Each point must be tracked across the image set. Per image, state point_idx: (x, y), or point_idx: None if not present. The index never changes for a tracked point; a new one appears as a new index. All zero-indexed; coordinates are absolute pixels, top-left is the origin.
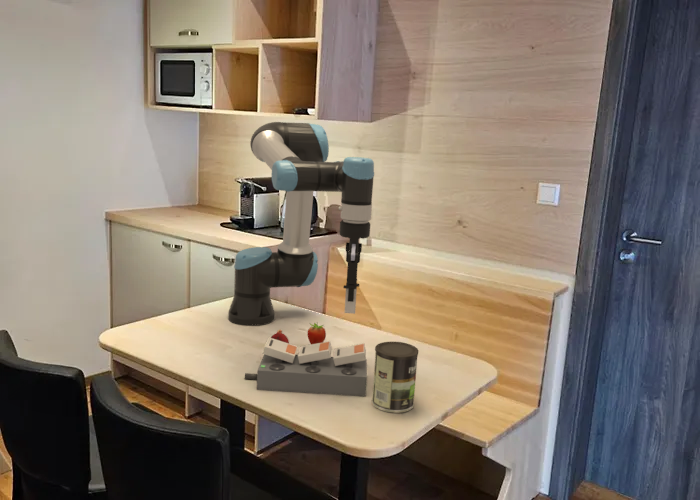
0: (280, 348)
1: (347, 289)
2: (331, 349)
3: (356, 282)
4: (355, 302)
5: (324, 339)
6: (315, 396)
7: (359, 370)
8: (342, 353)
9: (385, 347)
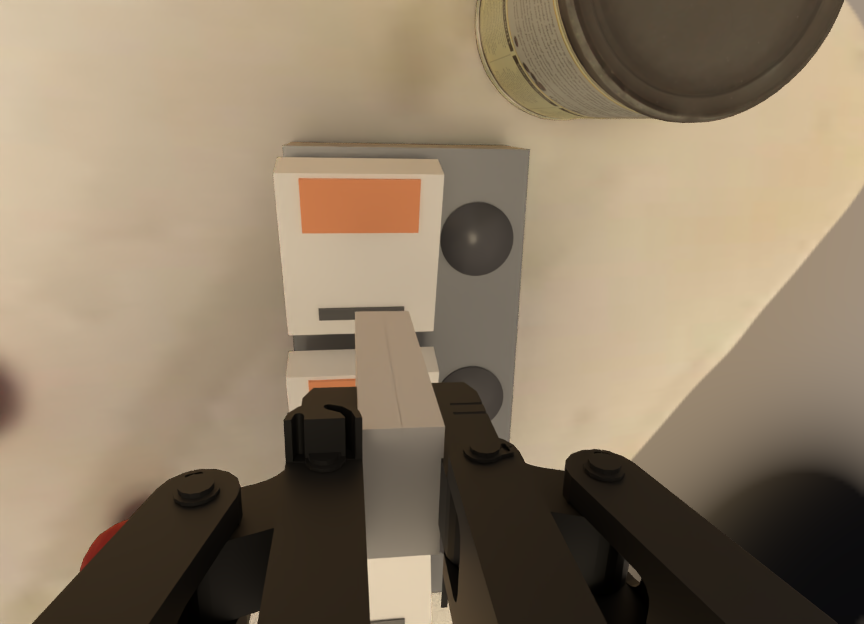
0: (394, 575)
1: (437, 524)
2: (312, 350)
3: (668, 509)
4: (421, 353)
5: None
6: (519, 343)
7: (448, 187)
8: (385, 292)
9: (679, 45)
